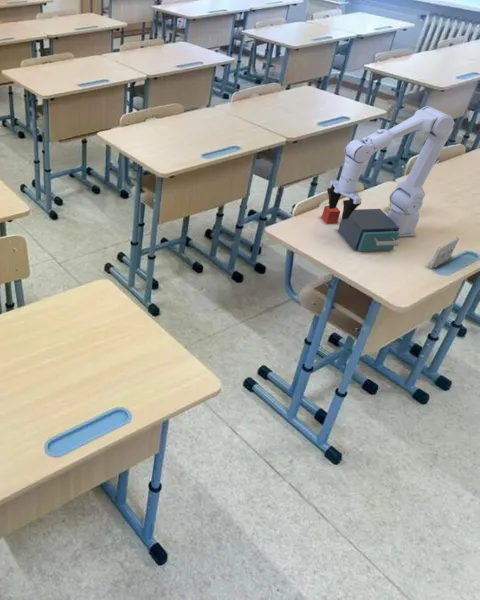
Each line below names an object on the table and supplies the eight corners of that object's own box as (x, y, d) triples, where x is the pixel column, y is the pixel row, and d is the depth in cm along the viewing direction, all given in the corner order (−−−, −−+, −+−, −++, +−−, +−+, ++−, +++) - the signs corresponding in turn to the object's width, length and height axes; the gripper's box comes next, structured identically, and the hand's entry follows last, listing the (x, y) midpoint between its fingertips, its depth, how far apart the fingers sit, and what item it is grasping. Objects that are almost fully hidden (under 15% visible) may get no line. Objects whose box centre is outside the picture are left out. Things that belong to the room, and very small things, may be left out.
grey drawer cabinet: (391, 249, 191) (399, 227, 186) (354, 250, 190) (361, 229, 185) (372, 229, 202) (380, 208, 197) (337, 230, 201) (344, 209, 196)
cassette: (432, 269, 181) (441, 249, 176) (426, 266, 182) (435, 247, 178) (451, 258, 186) (461, 238, 182) (446, 255, 188) (455, 236, 183)
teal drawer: (400, 257, 185) (407, 240, 181) (365, 258, 185) (372, 241, 181) (375, 231, 199) (381, 214, 195) (343, 232, 199) (348, 215, 194)
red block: (331, 217, 209) (335, 205, 206) (336, 223, 206) (340, 211, 203) (321, 217, 209) (324, 205, 206) (326, 223, 205) (329, 211, 202)
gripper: (326, 169, 188) (316, 204, 196) (352, 187, 176) (340, 224, 185) (344, 167, 189) (334, 202, 197) (371, 185, 177) (359, 222, 186)
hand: (338, 213), depth 191 cm, fingers open, 7 cm apart
